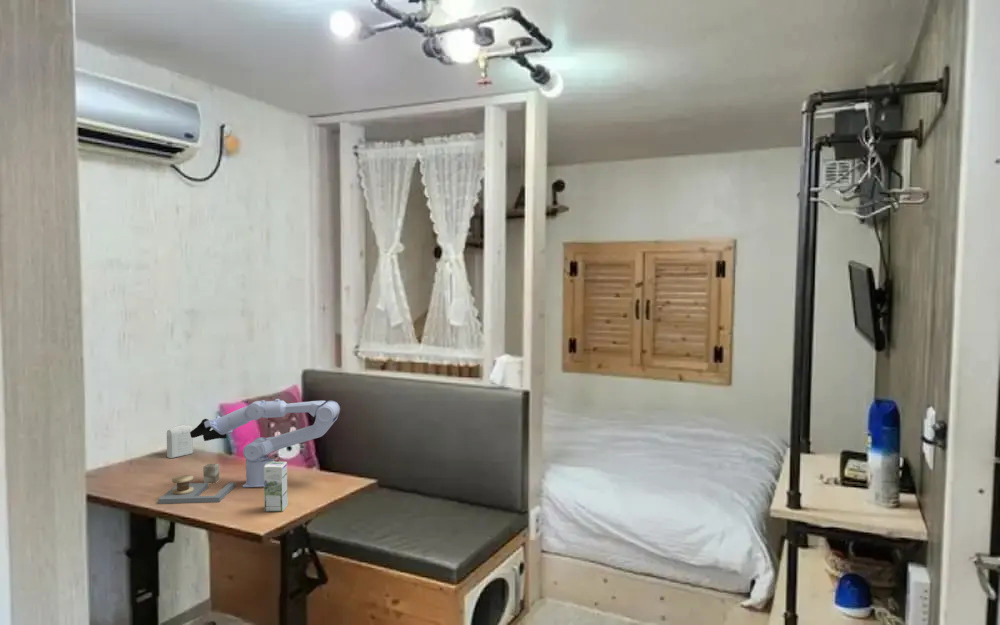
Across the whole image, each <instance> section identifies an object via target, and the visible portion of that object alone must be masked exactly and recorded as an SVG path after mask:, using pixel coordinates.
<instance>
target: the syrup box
mask: <svg viewBox="0 0 1000 625" xmlns="http://www.w3.org/2000/svg"><path fill="white" fill-rule="evenodd" d="M263 489H264V491H263V495H264V496H263V497H264V499H263V500H264V501H263V502H264V512H267V513H268V512H271V513H272V512H283V511H284V510H285V509H286V508H287V506H288V505H289V503H288V462H287V461H275V462H268V463H267V464H266V465H265V466H264V487H263Z"/></svg>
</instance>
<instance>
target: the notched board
mask: <svg viewBox="0 0 1000 625" xmlns="http://www.w3.org/2000/svg"><path fill="white" fill-rule="evenodd" d="M189 486H191V487H193V488H194V491H193V492H191V493H188V494H184V495H174V494H172V490H173V489H175V488H177V484H176V485H175V486H173V487H172V488H171V489H169V490H168V491H167V492H165V494H163V495H162V496H160V497H159V498H158V499H157V501H158V504H159V505H160V504H161V505H163V504H165V505H167V504H197V503H198V504H199V503H203V504H204V503H220V502H221V501H222V500H223V499H224V498H225V497H226V496H227V495H228V494H229V493H231V491H232V490H233V489H234V488H235V487H236V482H235V481H230V482H229V481H228V483H227V484H226V485H225V486H223V488H222V489H221V490H219V491H218V492H217V493H216V494H215V495H201V494H203V492H205V491H206V490H207V489H208V488H209V484H208V483H204V482H193V483H191V482H189Z"/></svg>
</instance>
